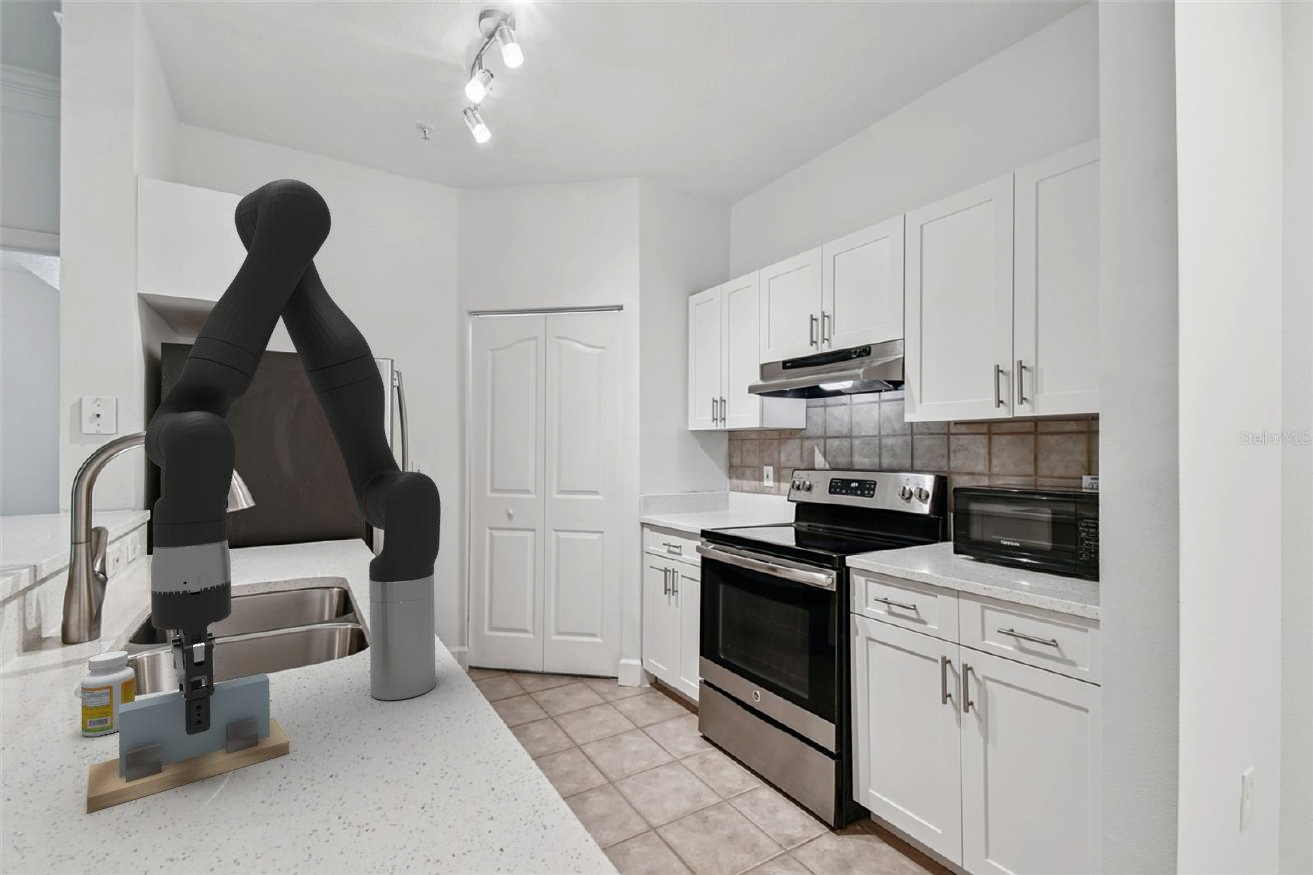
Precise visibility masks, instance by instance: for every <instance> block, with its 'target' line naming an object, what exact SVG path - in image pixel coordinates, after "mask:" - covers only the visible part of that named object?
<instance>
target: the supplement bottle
mask: <svg viewBox="0 0 1313 875" xmlns="http://www.w3.org/2000/svg"><path fill="white" fill-rule="evenodd" d="M128 662H129V653H128V651H125V650H118V651H117V650H116V651H110V652H104V653H101V654H97V655H94V656H91V657H90V658H88V663H87V666H88V667H87V668H88V671H89V673H87V674H86V675H85V676H84V677H83V678H82V680H81V683H80V685H81V686H80V687H81V688H80V691H81V701H80V702H81V733H82V735H83V736H84V737H101V735H102V736H106V735H105V734H107V735H110V733H111V734H114V733H113V732H115V733H117V731H118V732H119V705H120V704H124V703H129V702H133V701H136V691H135V690H136V681H135V680H136V678H135V677H136V676H135V675H136V674H135V669H134V668H132V667H129V666H127V664H128Z"/></svg>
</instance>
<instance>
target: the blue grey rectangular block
mask: <svg viewBox="0 0 1313 875" xmlns="http://www.w3.org/2000/svg"><path fill="white" fill-rule="evenodd" d="M213 687H215V692H214V694H213V695H212V696H210V728H209V729H208V730H207V731H204V732H201V733H197V734H193V735H188V734H187V733H186V729H185V702H184V699H183V695H184V691H180V692H179V691H176V692H171V693H167V694H162V695H158V696H154V697H148V698H144V699H139V700H135V701H133V702H129V703H124V704H120V705H119V731H118V739H119V740H118V741H119V742H118V749H119V750H118V758H119V778H121V777H125V776H126V763H125V751H126V750H130V749H134V748H137V747H141V746H145V745H149V744H153V743H157V742H161V745H162V766H165V765H168V764H172V763H175V762H179V761H183V760H186V759H190V758H194V757H197V756H201V755H204V754H208V753H212V752H215V751H219V750H223V749H226V725H228V724H232V723H235V722H239V721H243V720H247V719H251V718H255V717H256V718H257V720H258V740H259V739H262V738H266V737H270V719H271V717H270V716H271V715H270V714H271V713H270V712H271V710H270V709H271V708H270V707H271V705H270V678H269V676H268V675H267V674H266V673H265V672H264V673H263V672H262V673H258V674H254V675H250V676H246V677H241V678H235V679H231V680H226V681H223V682H222V681H221V682H216V683H213Z"/></svg>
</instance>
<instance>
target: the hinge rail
mask: <svg viewBox="0 0 1313 875" xmlns="http://www.w3.org/2000/svg"><path fill="white" fill-rule="evenodd" d="M288 754H290V741H289V739H288V738H287V735H286V734H285V732H284V730H283V729H282V727H281V725H280V724H279V722H278V721H277V719H276V718H275V717H272V718H271V717H270V737H266V738H262V739H259V740H258V720H257V718H256V717H255V718H251V719H247V720H243V721H239V722H235V723H232V724H228V725H226V749H223V750H219V751H215V752H212V753H208V754H204V755H201V756H197V757H194V758H190V759H186V760H183V761H179V762H175V763H172V764H168V765H165V766H162V745H161V742H157V743H153V744H149V745H145V746H141V747H137V748H134V749H130V750H126V751H125V763H126V776H125V777H121V778H119V757H118V758H115V759H109V760H107V761H102V762H99V763H95V764H91V765H89V771H88V782H87V795H86V813H87V814H89V813H93V812H96V811H100V810H103V809H106V808H110V807H113V806H116V805H120V804H123V803H127V802H130V801H134V800H136V799H139V798H144V797H147V796H151V795H154V794H158V793H160V792H163V791H167V790H170V789H174V788H177V787H180V786H185V785H187V784H190V783H193V782H194V783H195V782H197V781H201V780H204V779H208V778H211V777H214V776H218V775H220V774H224V773H228V772H230V771H235V770H238V769H241V768H245V767H248V766H251V765H255V764H258V763H261V762H265V761H268V760H269V761H270V760H271V759H274V758H278V757H281V756H285V755H288Z"/></svg>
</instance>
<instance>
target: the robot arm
mask: <svg viewBox="0 0 1313 875" xmlns="http://www.w3.org/2000/svg"><path fill="white" fill-rule="evenodd" d="M234 224H235V228H236V232H237V235H238V238H239V240H240V241H241V243H242V245H243V247H244V249H245V251H246V253H247V255H246V257H245V259H244V261H243V262H242V265H241V266H240V267H239V270H238V271H237V273H236V275H235V276H234V279H233V280H232V281H231V282H230V284H229V286H228V287H227V288H226V290H225V291H224V292H223V294H222V295H221V297H220V298H219V300H217V302H216V304H215V305H214V306H213V308H212V309H211V311H210V312H209V314H208V315H207V316H206V319H205V320H204V322H203V324H202V325H201V328H200V330H199V331H198V334H197V336H196V337H195V340H194V343H193V345H192V347H191V350H190V351H189V353H188V356H187V358H186V360H185V362H184V364H183V369H182V371H181V374H180V376H179V377H178V378H177V380H176V382H174V384H173V385H172V387H171V388H170V389H169V391H168V392H167V394H166V396H165V397H164V399H163V400H162V402H161V403H160V405H159V406H158V408H157V409H156V411H155V413H153V416H152V418H151V419H150V422H149V424H148V426H147V428H146V431H145V435H144V443H143V444H144V449H145V453H146V455H147V456H148V458H149V460H150V461H152V463H153V464H155V465H156V466H158V467H160V468H162V469H164V483H163V492H162V495H161V497H158V499H157V500H156V502H155V503H154V507H153V512H152V538H153V542H152V543H153V548H152V557H151V561H150V562H151V564H150V596H151V599H150V603H151V605H150V607H151V609H150V611H151V614H150V615H151V625H152V627H153V628H155V629H157V630H163V631H174V630H175V638H171V640H170V650H171V654H172V665H173V669H175V670H176V672H175V676H176V681H177V683H178V690H179V691H178V692H180V691H184V695H183V699H184V702H185V729H186V733H187V734H188V735H193V734H197V733H201V732H204V731H207V730H208V729H209V728H210V696H212V695H213V694H214V692H215V687H213V684H214V675H215V672H216V662H215V651H216V646H217V645H216V644H217V642H216V637H215V636H214V635H213V631H210V632H208V626H209V625H211V624H213V623H218V622H221V621H224V620H226V619H227V618H229V617H230V615H231V614H232V570H231V569H232V568H231V567H232V566H231V565H232V564H231V553H230V548H229V541H228V539H229V538H228V508H227V503H228V498H229V494H230V490H231V487H232V480H233V476H234V471H235V466H236V456H237V455H236V454H237V447H236V440H235V435H234V432H233V430H232V428H231V427H230V425H229V423H227V421H226V417H228V414H229V412H230V410H231V408H232V407H233V406H234V405H235V404H237V403H238V402H240V401H241V400H243V399H244V398H245V397H246V395H247V394H248V392H249V390H250V388H251V387H252V384H253V381H254V379H255V377H256V375H257V372H258V369H259V367H260V365H261V362H262V360H263V357H264V354H265V352H266V350H267V347H268V345H269V342H270V341H271V338H272V335H273V332H274V330H275V328H276V327H277V323H278V322H279V320H280V318H281V319H282V321H283V324H284V327H285V329H286V331H287V333H288V335H289V338H290V340H291V342H292V344H293V347H294V349H295V352H296V353H297V356H298V359H299V361H300V363H301V366H302V369H303V371H304V374H305V377H306V379H307V381H308V382H309V385H310V388H311V389H312V392H313V394H314V397H315V399H316V400H317V402H318V404H319V408H320V409H321V410H322V413H323V415H324V417H325V420H326V422H327V425H328V426H329V427H328V428H329V430H330V432H331V434H332V436H333V438H334V440H335V443H336V445H337V448H338V450H339V451H340V453H341V456H342V459H343V463H344V466H345V469H346V471H347V475H348V479H349V481H350V484H351V488H352V491H353V495H354V498H355V501H356V504H357V508H358V510H359V512H360V514H361V515H362V517H363V518H364V520H365V521H366V522H367V523H368V524H369V525H370V526H371V527H374V528H376V529H378V530H381V531H382V530H383V540H382V541H383V544H382V549H381V551H380V553H379V554H378V555H377V556H375V557H373V558H372V559H371V560H370V562H369V566H368V574H369V575H368V579H369V580H368V582H369V584H368V586H369V587H368V588H369V589H368V591H369V594H368V595H369V651H370V652H369V657H370V658H369V660H370V666H369V667H370V669H369V670H370V675H369V676H370V678H369V679H370V695H371V697H372V698H374V699H378V700H382V701H386V700H387V701H393V700H404V699H409V698H413V697H417V696H420V695H423V694H425V693H427V692H430V691H431V690H432V689H434V688H435V685H436V628H435V627H436V626H435V624H436V623H435V622H436V621H435V620H436V616H435V614H436V613H435V612H436V609H435V562H436V560H437V558H438V555H439V550H440V538H441V537H440V536H441V513H442V512H441V510H442V509H441V508H442V506H441V496H440V491H439V489H438V486H437V485H436V482H435V481H434V480H433V479H432V477H430V476H428V475H427V474H425V473H422V472H419V471H402V470H401V469H400V467H399V465H398V463H397V460H396V459H395V456H394V454H393V452H392V450H391V447H390V445H389V442H388V439H387V434H386V428H385V422H386V421H385V415H386V414H385V413H386V393H385V385H384V381H383V378H382V375H381V372H380V370H379V369H380V368H379V367H378V365H377V361H376V359H375V357H374V355H373V353H372V350H371V347H370V346H369V343H368V341H367V340H366V337H364V335H363V334H362V333H361V331H360V330H359V328H357V326H356V324H354V323H353V321H352V320H351V319H350V318H349V317H348V316H347V315H346V314H345V313H344V311H343V310H342V309H341V308H340V307H339V306H338V304H337V303H336V302H335V301H334V300H333V298H332V296H331V295H330V294H329V293H328V291H327V289H326V287H325V285H324V284H323V281H322V279H321V277H320V274H319V271H318V270H317V266H316V265H315V262H314V258H315V256H316V255H317V254H318V253H319V251H320V249H321V248H322V246H323V244H325V242H326V240H327V238H328V237H329V235H330V231H331V227H332V216H331V212H330V208H329V206H328V204H327V202H326V200H325V199H324V197H323V196H322V195H321V194H320V193H319V192H318V191H317V190H316V189H315V188H314V187H312V185H310V184H307V183H306V182H303V181H301V180H299V179H293V178H283V179H282V178H281V179H278V180H273V181H271V182H268V183H266V184H264V185H262V186H260V187H259V188H257V189H256V190H253V191H251V192H250V193H248V194H246V195H244V197H243V198H242V199H241V200H240V201H239V202H238V204H237V205H236V207H235V210H234ZM203 680H204V685H203Z"/></svg>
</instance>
